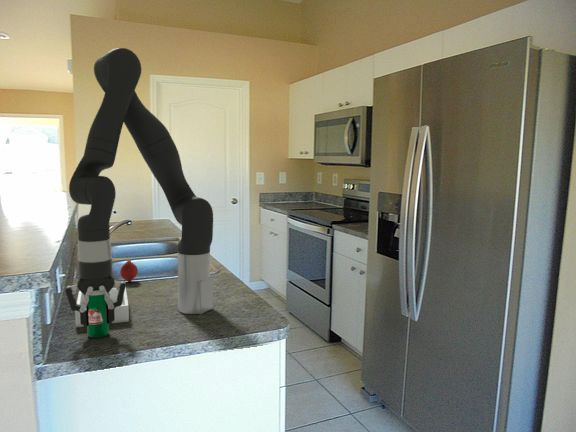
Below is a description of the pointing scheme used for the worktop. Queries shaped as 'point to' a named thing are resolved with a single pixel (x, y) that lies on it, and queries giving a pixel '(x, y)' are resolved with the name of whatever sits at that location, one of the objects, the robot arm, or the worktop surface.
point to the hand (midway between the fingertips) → (97, 323)
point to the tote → (119, 312)
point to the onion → (128, 271)
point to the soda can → (97, 315)
